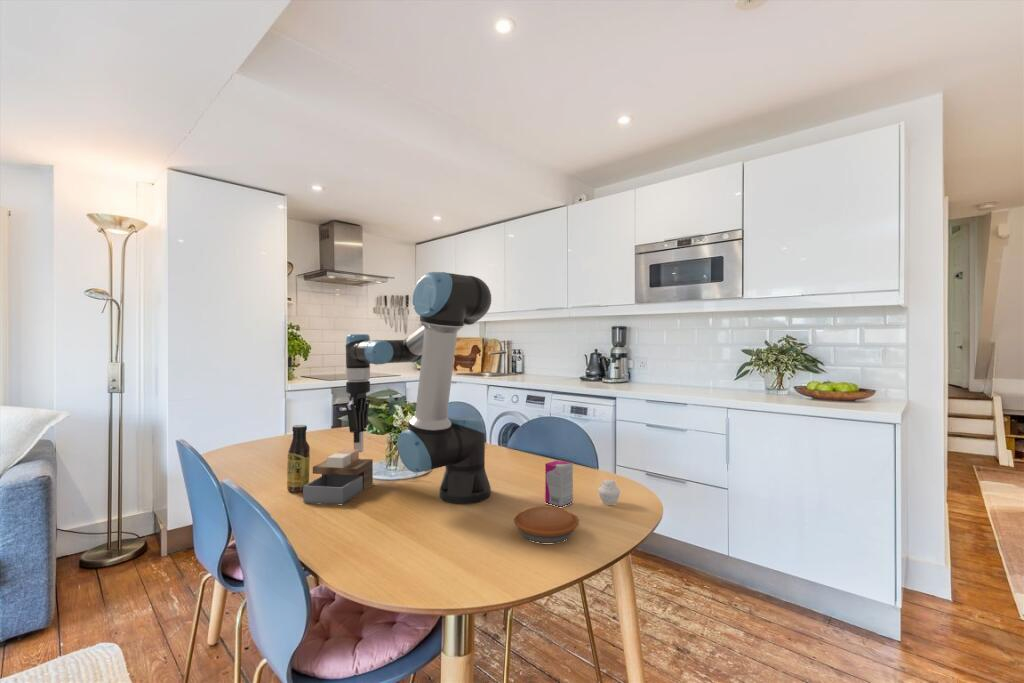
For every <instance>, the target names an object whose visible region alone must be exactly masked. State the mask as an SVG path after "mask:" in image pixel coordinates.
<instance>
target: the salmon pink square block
mask: <svg viewBox="0 0 1024 683" xmlns="http://www.w3.org/2000/svg"><path fill="white" fill-rule="evenodd" d="M336 453H341V454H351V463H353V462H354V461H356V460H358V459H360V457H359V456H360V452H359V450H354V449H347V448H345V449H342V450H340V451H338V452H336Z"/></svg>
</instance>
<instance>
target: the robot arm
mask: <svg viewBox="0 0 1024 683" xmlns="http://www.w3.org/2000/svg"><path fill="white" fill-rule="evenodd" d="M412 305H413V306H414V307H413V310H414V312H415V313H416V314H417V315H418V316H419V323H420V324H421V327H419V328H417V329H416V330H415V331H413V333H411V334H409V335H408V337H406V338H404V339H392V340H391V339H371V337H370V335H369V334H365V333H363V334H361V333H357V334H356V333H355V334H353V333H350V334H347V335H346V337H345V345H344V346H345V362H346V363H345V365H346V366H345V374H346V377H345V378H346V382H345V384H346V385H345V387H346V388H345V390H346V391H345V392H346V393H347V394H350V395H349V403H346V404H345V405H344V406H345V409H346V413H347V421H348V429H349V433H353V450H359V453H363V452H364V432H367V427H368V420H369V419H368V418H369V408H370V405H371V404H370V403H371V399H369V398H368V397H367V393H370V391H371V382H370V379H371V364H372V365H375V366H377V365H378V366H379V365H386V364H396V363H397V364H399V363H402V364H403V363H416V362H417V363H418V362H420V369H419V377H418V386H417V388H418V389H417V395H416V405H415V406H416V407H415V413H414V415H413V416H411V417H410V418H409V420H408V427H407V429H405V430H403V431H402V432H401V433H400V434H399V435H398V437H397V441H396V442H397V443H396V444H397V452H398V456H399V458H400V460H401V462H402V464H403V466H404V467H405V468H406V469H407V470H408V471H410V472H412V473H415V474H416V473H422V472H426V473H427V472H429V471H431V470H435V469H438V468H444V467H445V471H444V473H443V477H442V480H441V482H440V487H439V499H441V500H442V501H444V502H446V503H447V502H448V503H452V504H459V505H460V504H475V503H479V502H482V501H485V500H487V499H488V498H490V497H491V495H492V494H491V492H492V490H491V484H490V481H489V478H488V475H487V472H486V467H485V463H486V460H485V459H486V458H485V454H486V453H485V452H486V451H485V450H486V448H485V446H486V439H485V438H486V432H485V423H484V422H483V420H482V419H480V418H474V417H466V416H448V411H449V403H450V395H451V393H450V392H451V387H452V376H453V369H454V359H455V351H456V345H457V344H456V343H457V342H456V341H457V336H458V335H457V334H458V332H459V331H460V330H461V329H463V327H465V326H467V325H468V326H471V325H474V324H476V322H478V321H479V320H481V319H482V318H483V317H485V315H486V314H487V313H488V312H489V309H490V308H491V305H492V293H491V289H490V288H489V285H487V283H486V282H485V281H484V280H482V279H481V278H479V277H477V276H474V275H467V274H466V275H465V274H457V273H450V272H447V271H446V272H444V271H442V272H441V271H431V272H428V273H425V274H423V275H422V276H421V278H419V279H418V281H417V282H416V284H415V286H414V289H413V293H412ZM370 339H371V340H370Z"/></svg>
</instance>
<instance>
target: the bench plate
mask: <svg viewBox="0 0 1024 683" xmlns="http://www.w3.org/2000/svg"><path fill="white" fill-rule="evenodd" d="M373 466H374V465H373V458H372V459H371V458H359V459H358V460H356V461H354V462H353V463H351V464H349V465H347V466H345V467H343V468H332V467H327V459H325V460H324V461H322V462H320V463H318V464H315V465H314V466H312V474H313V475H314V474H315V475H321V476H323V475H325V474H333V475H359V476H363V491H365V490H367V489H368V488H369V487H372V485H374V484H373V483H374V481H373V480H374V478H373V477H374V476H373V475H374V473H373V471H374V470H373V469H374V468H373ZM366 488H367V489H366Z"/></svg>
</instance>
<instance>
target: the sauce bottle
mask: <svg viewBox="0 0 1024 683" xmlns="http://www.w3.org/2000/svg"><path fill="white" fill-rule="evenodd" d="M291 429H292V440H291V444H290V446H289V448H288V449H289V450H288V452H287V467H286V468H287V470H286V474H287V475H286V476H287V477H286V486H287V487H286V488H287V491H289V492H291V493H294V492H295V493H299V491H300V492H303V486H304V485H306V484H308V483H310V464H311V463H310V459H311V457H310V456H311V455H310V452H311V451H310V444H309V443H308V442H307V429H308V426H307V424H296V425H295V424H294V425H293V426H292V428H291Z"/></svg>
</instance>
